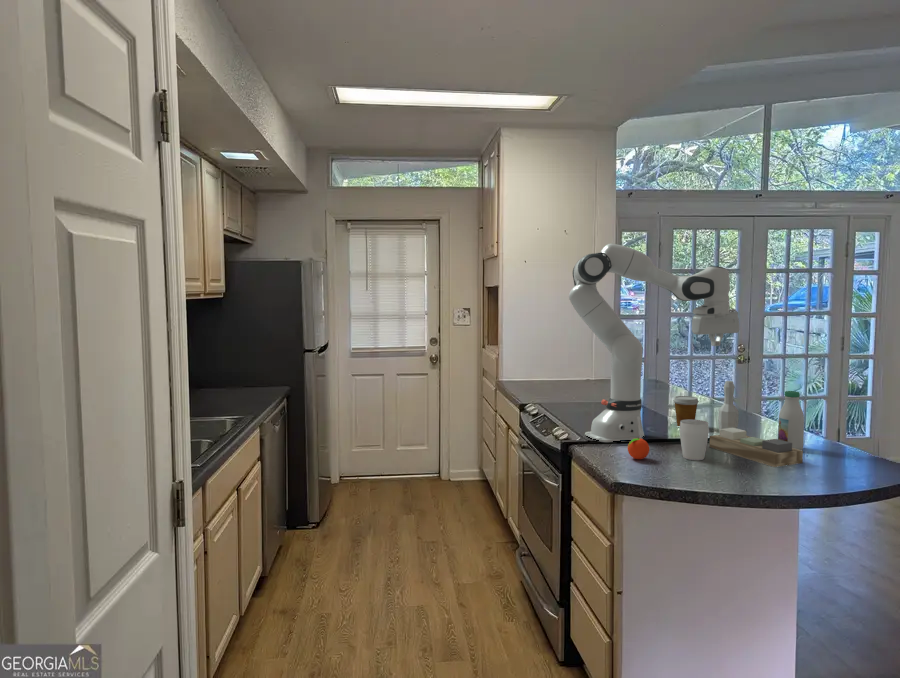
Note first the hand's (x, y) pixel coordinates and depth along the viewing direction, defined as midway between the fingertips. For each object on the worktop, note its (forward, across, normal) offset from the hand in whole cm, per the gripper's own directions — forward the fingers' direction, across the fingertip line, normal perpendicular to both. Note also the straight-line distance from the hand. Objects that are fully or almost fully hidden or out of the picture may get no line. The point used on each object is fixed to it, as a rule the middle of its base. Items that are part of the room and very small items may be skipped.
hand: (715, 345), depth 234 cm
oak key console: (+34, +10, +28) cm, 45 cm away
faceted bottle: (+34, +3, +10) cm, 36 cm away
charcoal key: (+32, +10, +37) cm, 50 cm away
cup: (+34, +31, +23) cm, 52 cm away
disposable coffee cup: (+34, +1, -14) cm, 37 cm away
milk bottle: (+34, -8, +27) cm, 44 cm away
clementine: (+34, +49, +17) cm, 62 cm away
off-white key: (+32, +10, +19) cm, 38 cm away
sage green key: (+33, +10, +28) cm, 44 cm away
